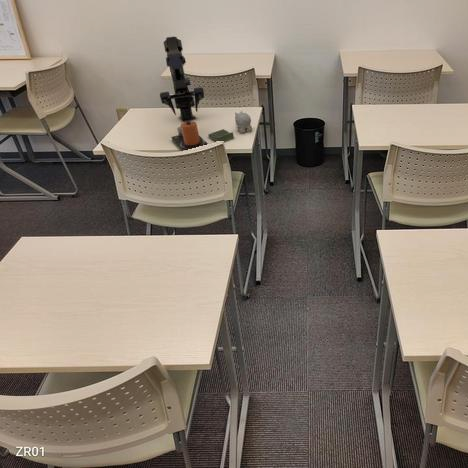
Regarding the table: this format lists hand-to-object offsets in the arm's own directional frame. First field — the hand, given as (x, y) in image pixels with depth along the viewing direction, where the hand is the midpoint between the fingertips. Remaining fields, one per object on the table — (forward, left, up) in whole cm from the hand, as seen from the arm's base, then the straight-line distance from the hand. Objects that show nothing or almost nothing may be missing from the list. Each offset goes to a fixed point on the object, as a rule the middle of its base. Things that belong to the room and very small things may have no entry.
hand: (186, 113), depth 211 cm
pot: (+7, -2, -10) cm, 13 cm away
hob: (+3, -2, -13) cm, 13 cm away
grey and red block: (-3, -2, -11) cm, 12 cm away
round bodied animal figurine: (+2, +25, -13) cm, 28 cm away
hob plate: (+7, -2, -11) cm, 13 cm away
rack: (+6, +12, -13) cm, 19 cm away
